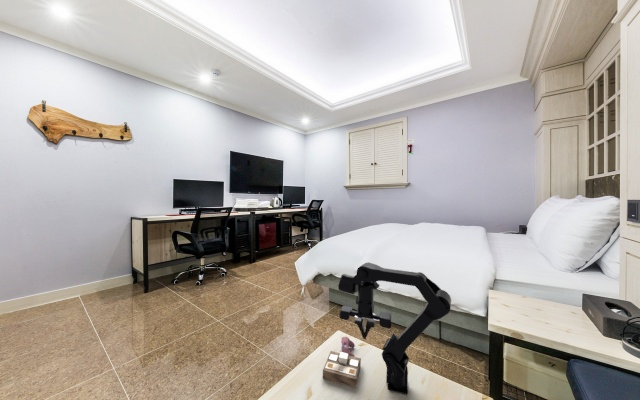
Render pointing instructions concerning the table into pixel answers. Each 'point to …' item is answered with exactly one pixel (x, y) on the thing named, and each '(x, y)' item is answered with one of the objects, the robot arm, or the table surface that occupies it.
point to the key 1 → (333, 358)
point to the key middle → (343, 358)
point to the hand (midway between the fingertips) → (364, 338)
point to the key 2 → (354, 363)
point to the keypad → (342, 371)
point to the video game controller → (347, 345)
